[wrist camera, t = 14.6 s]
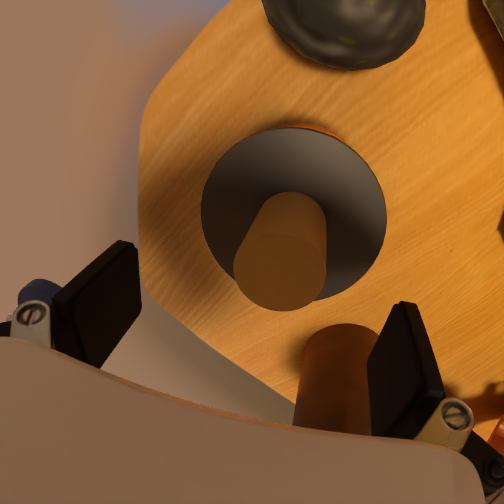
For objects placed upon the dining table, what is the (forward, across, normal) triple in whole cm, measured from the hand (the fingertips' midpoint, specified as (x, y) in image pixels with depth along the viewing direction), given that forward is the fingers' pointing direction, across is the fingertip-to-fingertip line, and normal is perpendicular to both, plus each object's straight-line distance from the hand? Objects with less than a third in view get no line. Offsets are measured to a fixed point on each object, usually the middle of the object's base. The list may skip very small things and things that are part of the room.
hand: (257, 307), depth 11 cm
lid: (+7, 0, 0) cm, 7 cm away
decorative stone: (+6, -2, -13) cm, 15 cm away
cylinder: (+16, -9, +17) cm, 25 cm away
